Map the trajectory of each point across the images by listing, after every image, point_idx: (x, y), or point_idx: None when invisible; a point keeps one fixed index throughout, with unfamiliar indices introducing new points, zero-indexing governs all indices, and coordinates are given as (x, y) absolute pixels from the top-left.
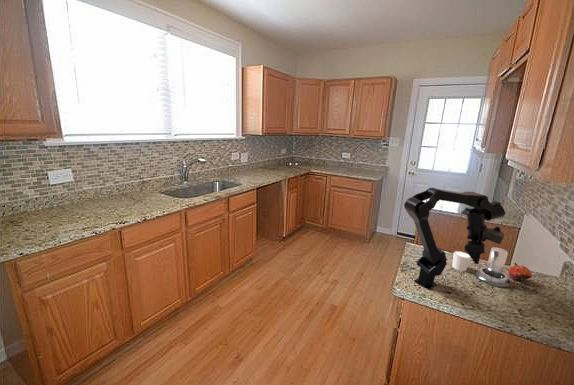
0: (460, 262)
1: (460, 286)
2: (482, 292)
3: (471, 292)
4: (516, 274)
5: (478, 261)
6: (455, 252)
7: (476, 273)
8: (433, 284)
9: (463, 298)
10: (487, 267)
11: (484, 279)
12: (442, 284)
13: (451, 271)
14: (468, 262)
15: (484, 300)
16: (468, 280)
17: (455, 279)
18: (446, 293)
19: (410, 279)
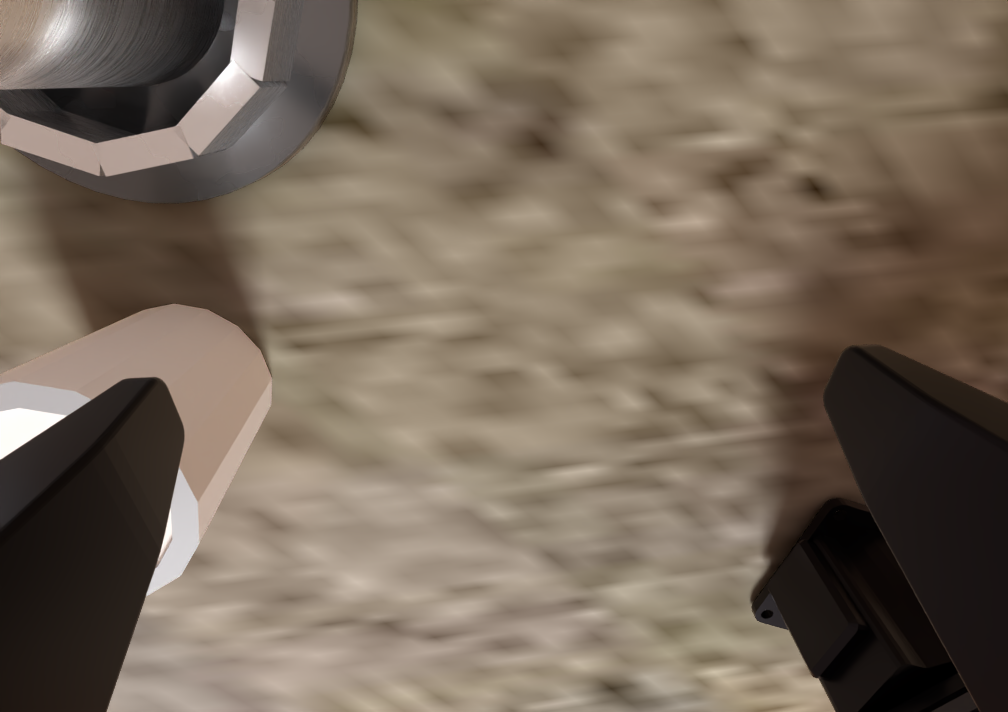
0: (231, 441)
1: (694, 311)
2: (676, 67)
3: (767, 190)
4: None
5: (983, 402)
6: None
7: (206, 190)
8: (869, 530)
9: (973, 252)
10: (84, 70)
11: (309, 73)
12: (773, 460)
13: (377, 432)
14: (134, 358)
15: (890, 27)
16: (459, 251)
17: (553, 374)
18: None
19: None
